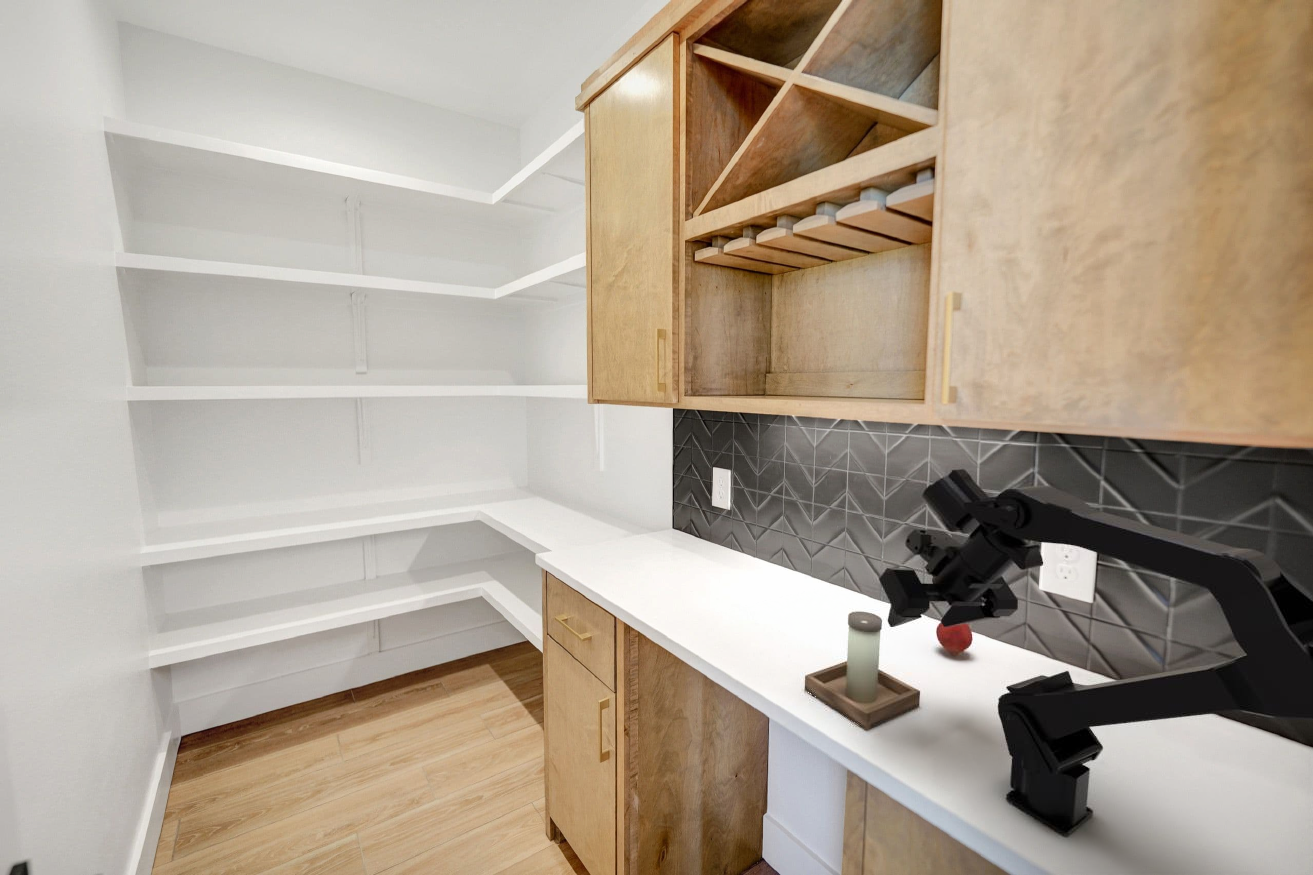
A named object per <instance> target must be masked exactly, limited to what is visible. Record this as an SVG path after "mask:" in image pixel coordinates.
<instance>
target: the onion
mask: <svg viewBox="0 0 1313 875" xmlns="http://www.w3.org/2000/svg"><path fill="white" fill-rule="evenodd" d="M935 629H936V630H935V632H936V639H937V640H938V642H939V644H940V645H941V646H942V647H943V648H944V649H945V651H947V652H948V653H949V654H950V655H953V656H957V655H959V654H960V653H963V652H964V651H966V650H967V649H969V648H970V647H971V645H972V643H973V640H974V639H973V632H972V630H971V627H970V626H969V623H966V624H960V625H955V626H950V627H944V626H943V624H942V623H941V621H940V622H939V624H938V625H937V626H936V628H935Z"/></svg>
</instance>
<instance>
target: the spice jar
mask: <svg viewBox="0 0 1313 875" xmlns="http://www.w3.org/2000/svg"><path fill="white" fill-rule="evenodd" d="M847 616H848V617H847V624H848V632H847V635H848V636H847V655H846V656H847V657H846V658H847V659H846V661H847V673H846V695H847V696H848V697H849V698H850V699H852V700H854V701H857V702H861V703H872V702H875V701H876V699H877V686H878V669H879V664H880V650H881V649H880V647H881V646H880V644H881V643H880V642H881V630H882V628H883V619H882V617H880V616H878V615H877V614H875V613H872V612H868V611H852V612H849V613H848V615H847Z"/></svg>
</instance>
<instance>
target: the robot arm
mask: <svg viewBox="0 0 1313 875" xmlns="http://www.w3.org/2000/svg"><path fill="white" fill-rule="evenodd" d="M921 496H922V497H921V498H922V501H924V503H926V506H928V508H929V509H931V510H932V513H934V514H935V515H936V517H937V518H938V519H939V520H940V522H941V523H942V524H943V525H944V526H945V527H946V528H947V530H948V531H949V532H951V533H957V532H960V533H961V534H969V533H970V534H969V535H968V536H967V538H966V539H965V540H963V542H962V543H960V542H959V541H958V540H956V539H955V538H954V537H952V536H951V535H950V534H948V532H945V531H943V530H939V529H924V528H923V529H921V528H919V529H917V528H914V529H913V530H912V531H911V532H910V533H909V534H908V535H907V537H906V539H905V547H906V548H907V549H908V550H909V551H910V552H911V553H913V555H915V556H916V555H917V556H919V557H921V558H922V560H923V561H925V562H926V563H927V564H926V565H925V566H924V569H925V570H926V572H927V574H928V575H931V576H932V578H931V583H925V582H923V583H922V581H921V580H920V578H919V577H918V575H917V573H916V571H915V569H911V568H905V567H904V568H899V567H886V569H884V570H883V572H882V573H881V574H880V576H879V578H878V580H879V583H880V585H881V587H882V588H883V591H884V592H885V594H886V597H887V599H888V600H889V603H890V607H889V612H888V616H887V623H888V625H889V627H890V628H896V627H898V626H901V625H904V624H907V623H910V622H912V621H916V620H918V619H921V618H922V615H924V614H925V613H927V612H928V611H929V610H930V607H931V606H930V603H941V604H942V603H947V604H948V606H950V608H948V610H947V611H946V612H945V613H944V615H943V616H942V618H941V619H940V622H941V623H942V624H943V626H944V627H950V626H955V625H960V624H966V623H967V624H971V623H976V622H981V621H987V620H992V619H993V620H994V619H995V620H996V619H1000V618H1001V617H1010V616H1012V615H1013V614H1014V613H1015V612H1016V611H1018V610H1019V606H1018V605H1019V599H1018V598H1017V597H1016V595H1015V593H1014V592H1013V591H1012V589H1011V587H1010V586H1009V584H1008V583H1007V581H1005V579H1004V577H1003V575H1004V574H1005V573H1007V572H1008V571H1009V570H1010V568H1011V567H1013V566H1014V565H1016V566H1017V567H1018V568H1019V569H1020V570H1022V571H1025V570H1030V569H1033V568H1034V569H1035V568H1039V567H1042V566H1043V565H1044V560H1043V557H1042V554H1041V545H1039V544H1037V543H1036V544H1033V543H1030V542H1029V541H1031V542H1038V543H1045V544H1046V543H1047V544H1057V545H1058V544H1059V545H1068V546H1073V547H1079V548H1080V549H1081V548H1082V549H1085V550H1087V551H1092V552H1094V553H1097V554H1100V555H1102V556H1105V557H1108V558H1112V559H1115V560H1118V561H1121V562H1124V563H1128V564H1131V565H1133V566H1135V567H1140V568H1142V569H1145V570H1149V571H1152V572H1154V573H1157V574H1161V575H1163V576H1166V577H1170V578H1173V579H1176V580H1178V581H1182V582H1185V583H1187V584H1191V585H1194V586H1197V587H1200V588H1203V589H1207V590H1208V591H1209V593H1210V594H1211V595H1212V596H1213V598H1214V599H1215V600H1216V602H1218V604H1219V606H1220V609H1221V611H1222V612H1223V615H1224V616H1225V619H1226V621H1227V623H1228V626H1229V628H1230V630H1231V632H1232V636H1233V637H1234V639H1235V640H1236V642H1237V644H1238V645H1239V647H1240V648H1241V649H1242V651H1243V652H1244V653H1245V654H1244V655H1240V656H1238V657H1235V658H1232V659H1230V660H1227V661H1224V662H1223V661H1222V662H1218V663H1213V664H1211V663H1210V664H1205V665H1199V666H1194V667H1189V668H1188V667H1187V668H1181V669H1177V670H1176V669H1175V670H1170V671H1165V672H1160V673H1159V672H1157V673H1154V674H1147V675H1142V676H1135V677H1130V678H1123V679H1119V680H1117V679H1116V680H1113V681H1105V682H1100V683H1095V684H1088V685H1087V684H1080V683H1076V682H1073V680H1072V676H1071V674H1070V672H1069V671H1068V670H1065V671H1062V672H1059V673H1057V674H1053V675H1051V676H1047V675H1038V676H1034V677H1031V678H1029V679H1025V680H1023V681H1020V682H1016V683H1014V684H1010V685H1007V686H1006V690H1007V691H1008V692H1007V693H1004V694H1001V695H1000V696H999V697H998V702H997V715H998V717H999V719H1000V723H1001V726H1002V730H1003V731H1002V732H1003V734H1004V738H1005V742H1006V746H1007V750H1008V754H1009V756H1010V757H1011V762H1010V763H1011V765H1010V766H1011V767H1010V780H1009V785H1010V788H1011V789H1012V790H1010V791H1008V792H1007V793H1005V794H1006V797H1005V799H1006V801H1008V802H1009V803H1011V804H1012V805H1014V806H1015V807H1017V808H1019V809H1020V810H1022V811H1023V812H1025V813H1026V814H1028V815H1030V816H1032V817H1033V818H1035V819H1037V820H1038V821H1040V822H1041V823H1043V824H1045V825H1046V826H1048V827H1050V828H1051V829H1052V830H1054V831H1055V832H1058V833H1059V834H1061V835H1063V836H1069V835H1071V833H1073V832H1074V831H1075V830H1077V829H1078V828H1079V827H1080V826H1081V825H1083V824H1084V823H1086V821H1088V820H1089V819H1091V818H1092V817H1093V816H1094V810H1093V809H1092V808H1090V807H1089V806H1088V795H1089V786H1090V785H1089V782H1090V775H1091V774H1090V771H1091V768H1089V767H1088V766H1086V764H1085V763H1088V762H1090V761H1095V760H1097V759H1098V757H1100V754H1101V753H1102V752H1103V749H1104V747H1103V745H1102V743H1101V742H1100V740H1099V739H1098V738H1097V735H1095V733H1094V731H1093V730H1092V729H1091V728H1092V727H1093V728H1094V727H1101V726H1102V727H1103V726H1112V725H1113V726H1114V725H1121V724H1130V723H1139V722H1149V721H1158V720H1167V719H1177V718H1187V717H1195V716H1203V715H1214V714H1215V715H1216V714H1223V713H1231V712H1240V713H1247V714H1251V715H1252V714H1253V715H1257V716H1262V717H1268V718H1273V719H1281V720H1282V719H1283V720H1296V721H1297V720H1298V721H1300V720H1301V721H1313V597H1312V596H1311V595H1310V594H1309V593H1307V591H1304V589H1302V588H1301V587H1300V586H1298V585H1297V584H1296V583H1295V582H1293V580H1291V579H1290V577H1289V576H1288V575H1287V574H1286V573H1285V571H1284V570H1283V569H1282V568H1281V567H1280V566H1279V565H1278V564H1277V562H1276V561H1274V560H1273V559H1272V558H1270V556H1268V555H1267V554H1265V553H1263V552H1261V551H1258V550H1256V549H1252V548H1241V547H1235V546H1229V545H1227V544H1223V543H1219V542H1216V541H1212V540H1208V539H1204V538H1200V537H1196V536H1194V535H1189V534H1185V533H1181V532H1179V531H1176V530H1175V531H1174V530H1171V529H1167V528H1163V527H1159V526H1156V525H1151V524H1150V523H1146V522H1145V523H1144V522H1141V521H1137V520H1133V519H1130V518H1126V517H1122V516H1119V515H1115V514H1112V513H1107V512H1103V511H1101V510H1099V509H1097V508H1095V507H1092V506H1090V505H1089V504H1088V503H1086V502H1085V501H1084V500H1082V499H1081V498H1079V497H1077V496H1075V495H1072V494H1070V493H1067V492H1065V491H1064V490H1061V489H1058V488H1055V487H1054V486H1050V485H1043V484H1042V485H1034V486H1024V487H1015V488H1006V489H1004V490H1003V491H1001V492H1000V493H998V495H997V496H989V495H988V494H987V493H986V492H985V491H984V490H983V489H982V488H981V487H980V486H979V485H978V484H977V483H976V482H975V481H974V479H973V477H972V476H971V475H970V473H968V471H966V469H964V468H961V469H960V468H958V469H952V470H951V472H950V473H949V474H948V475H945V476H943V477H941V478H940V479H938V480H936V481H935V482H933V483H932V484H930V485H928V486H927V487H926V488H925V490H924V491H923V492H922V494H921Z"/></svg>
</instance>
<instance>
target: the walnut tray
mask: <svg viewBox="0 0 1313 875" xmlns="http://www.w3.org/2000/svg"><path fill="white" fill-rule="evenodd" d="M846 673H847V660H845V661H842V662H840V663H838V664H835V665H832V666H829V667H826V668H822V669H820V670H818V671H814V672H812V673H809V674H806V675H804V691H805V690H806V691H807V692H806V691H805V692H806V693H808V692H809V693H811V694H812V695H814V696H816V697H817V698H818V699H820V700H821V701H820V700H819V701H820V702H822V703H823V702H824V703H823V704H825V705H826V704H827V705H826V706H828V707H829V708H831V709H832V708H833V709H832V710H834V709H835V710H836V711H835V710H834V711H835V712H837V711H838V712H839V714H840V713H841V714H843V715H844V716H843V715H842V716H843V717H845V716H846V717H847V718H846V717H845V718H846V719H848V718H849V719H850V720H849V719H848V720H849V721H851V720H852V721H853V722H852V721H851V722H852V723H854V722H855V723H857V724H858V725H859V726H858V725H857V724H856V725H857V726H858V727H860V728H861V727H862V728H861V729H863V730H864V729H865V730H864V731H868V730H870V729H872V728H875V727H877V726H879V725H882V724H885V723H886V722H888V721H890V720H892V719H893V720H894V719H895V718H897V717H899V716H902V715H904V714H906V713H908V712H911V711H912V710H915V709H917V708H919V707H920V703H921V702H920V700H921V690H919V689H917V688H916V687H913V686H911V685H909V684H907V683H905V682H904V681H902V680H900V679H899V678H896V677H894V676H892V675H890V674H888V673H887V672H884V671H883V670H881V669H879V668H878V686H877V699H876V701H875V702H872V703H861V702H857V701H854V700H852V699H850V698H849V697H848V696H847V695H846ZM809 693H808V694H809ZM811 694H810V695H811ZM812 695H811V696H812ZM814 696H813V697H814ZM817 698H816V699H817ZM818 699H817V700H818ZM838 712H837V713H838ZM841 714H840V715H841ZM855 723H854V724H855Z"/></svg>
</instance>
